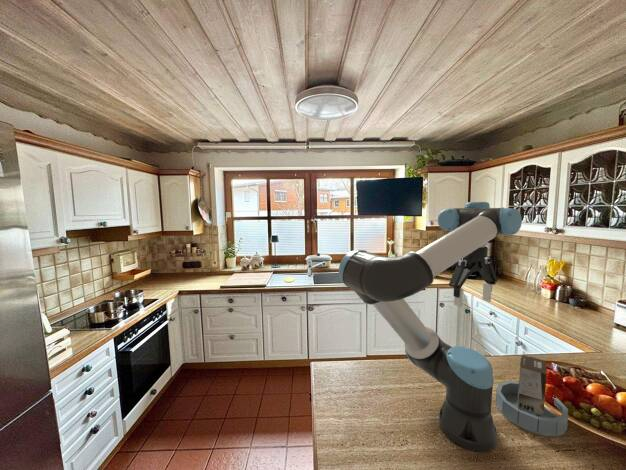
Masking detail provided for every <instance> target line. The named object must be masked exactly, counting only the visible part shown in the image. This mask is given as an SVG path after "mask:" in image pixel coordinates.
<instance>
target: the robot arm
mask: <svg viewBox="0 0 626 470" xmlns="http://www.w3.org/2000/svg"><path fill="white" fill-rule="evenodd" d="M521 214H522V213H520V211H519V210H518V209H517V208H510V207H490V203H489V202H487V201H469V202H467V201H466V203H465V204H464V207H459V208H458V207H456V208H455V207H449V208H445V209H443V210H441V211H440V212H439V213H438V216H437V224H438V226H439V228H440V229H441V230H442V231H446V232H448V233H447V234H444V235H442V236H440V237H439V238H437V239H436V240H435V241H433V242H431V243H429V244H428V245H426V246H423V247H422V248H420V249H419V250H417V251H408V252H405V253H404V254H402V255H399V256H384V255H380V254H376V253H373V252H369V251H367V250H363V249H353V250H351V251H349V252H348V253H346V254H345V255H344V256H343V257H342V259H341V261H340V262H339V266H338V277H339V280H340V281H341V282H342V283H343V284H344V285H345V286H346V287H348V288H350V289H352V290H353V292H354V293H355V294H356V295H357V296H358V297H359V298H360V299H361V301H362V302H363V303H364V304H367V305H371V306H373V307H374V308H375V309H376V311H377V312H378V313H379V314H380V315H381V317H382V318H383V319H384V320H385V321H386V322H387V323H388V325H389V326H390V327H391V329H393V331H394V332H395V333H396V334H397V335H398V336H399V338H400V339H401V340H402V341H403V342H404V348H405V349H404V353H405V355H406V357H407V358H408V360H409V361H410V362H411V363H412V364H413V365H414V366H416V367H417V368H419V369H421V370H422V371H423V372H425V373H427V374H428V375H429V376H431V377H432V378H434V380H436V381H438V382H439V383H440V384H441V385H443V386H445V399H444V401H443V403H442V406H441V407H440V410H439V414H438V423H439V427H440V429H441V431H442V432H443V434H444V435H445V436H446V437H447V438H448V439H449V440H451V441H452V442H453V443H455V444H457V446H459V447H462V448H464V449H467V450H469V451H473V452H478V453H480V452H481V453H484V452H485V453H486V452H490V451H492V450H493V449H495V448H496V446H497V444H498V430H497V427H496V425H495V424H494V423H495V422H494V419H493V414H492V402H493V401H492V400H493V389H494V388H493V386H494V381H495V380H494V371H493V370H494V369H493V366H492V364H491V362H490V360H488V359H487V358H486V357H485V356H484V355H483V354H482V353H480V352H478V351H477V350H475V349H472V348H470V347H469V348H468V347H466V346H462V345H454V346H452V345H449V344H447V343H445V342H444V341H443V340H442V339H441V337H440V336H439V335H438V334H437V332H436V331H435V330H434V329H432V328H431V327H427V326H425V324H424V323H423V322H422V320H421V319H420V318H419V316H418V315H417V314H416V312H415V311H414V310H413V309H412V307H411V305H409V304H408V303H407V301H406V299H407V298H408V297H411V296H414V295H415V294H417V293H419V292H421V291H423V290H425V289H427V288H428V287H430V286H431V285H432V284H433V282H435V281H434V280H435V277H436V276H439V274H441V273H442V272H444V271H446V270H447V269H449V268H450V267H452V266H453V265H455V264H456V266H455V269H454V270H453V273H452V276H451V278H450V281H449V283H448V286H449V287H452V288H453V297H454V299H453V300H454V301H453V302H454V303H453V305H455V306H457V307H459V308H462V307H463V297H464V288H462V287H463V285H464V284H465V283H466V281H467V279H468V278H469V276H470V275H472V274H473V273H475V272H478V273H479V274H480V276H481V277H482V279H483V281H484V282H483V283H482V285H483V286H482V300H483V301H485V302H488V303H491V302H492V291H493V285H496V284H497V282H498V277H497V275H496V271H495V269H494V265H493V258H492V257H488V255H489V251H488V250H489V248H488V247H487V246H488V245H489V242H490V241H492V240H493V239H494V238H496V237H498V236H500V235H503V236H512V235H515V234H518V232H519V231H520V229H521V227H522V224H523V222H522V221H523V219H522V215H521ZM462 259H464V260H462Z"/></svg>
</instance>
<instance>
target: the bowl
mask: <svg viewBox="0 0 626 470" xmlns="http://www.w3.org/2000/svg"><path fill="white" fill-rule="evenodd" d="M518 389H519V381H514V380H506V381H503V382H499V383H497V386H496V393H495V403H496V404H495V405H496V407H497V409H498V411H499V412H500V414H501V415H503V417H504V418H506V419H507V420H508V421H509V422H511V423H512V424H514V425H516V426H518V427H519V428H521V429H523V430H525V431H527V432H529V433H532V434H535V435H539V436H543V437H547V438H549V437H550V438H557V437H560V436H561V437H562V436H563V435H564V434H566V432H567V430H568V423H569V422H568V421H569V414H568V413H569V411H568V407H567V406H566V405H565V404H564V403H563V402H562V401H561V400H560V399H559V398H558V397H556V398H554V397H552V398H553V399H554V405H555V406H556V407H557V408H558V409H559V410H560V411H561V412H562V415H561V416H557V415H555V414H553V413H551V412H550V411H548V410H547V409H546V408H545V407H544V413H543V417H538V416H535V415H533V414H530V413H527V412H525V411H522V410H520V409H518Z"/></svg>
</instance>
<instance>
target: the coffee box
mask: <svg viewBox="0 0 626 470" xmlns="http://www.w3.org/2000/svg"><path fill="white" fill-rule="evenodd" d="M519 362H520V365H519V374H518V375H519V378H518V382H519V389H518V409H520V410H522V411H525V412H527V413H530V414H533V415H535V416H538V417H543V413H544V402H545V391H546V389H547V376H548V375H547V374H548V371H547V362H546V360H542V359H540V358H537V357H532V356H527V355H523V354H521V356H520V361H519Z"/></svg>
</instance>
